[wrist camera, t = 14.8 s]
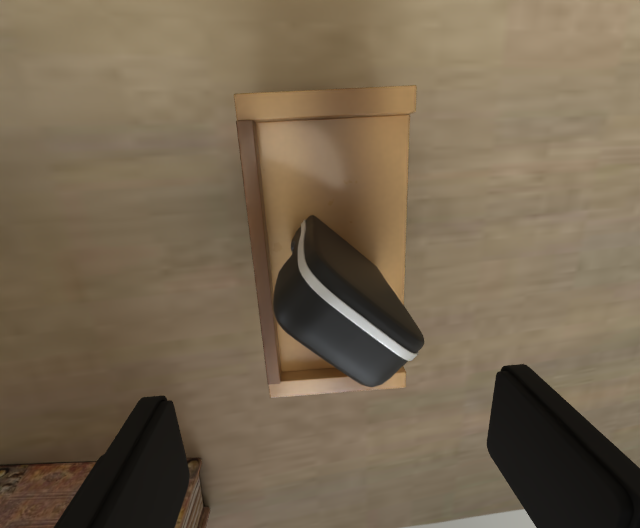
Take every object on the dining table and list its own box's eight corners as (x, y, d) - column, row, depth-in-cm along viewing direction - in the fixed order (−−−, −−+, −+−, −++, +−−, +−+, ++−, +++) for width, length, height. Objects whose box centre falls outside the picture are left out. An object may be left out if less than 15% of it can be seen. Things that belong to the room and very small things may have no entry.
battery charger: (275, 250, 24) (252, 329, 13) (308, 209, 23) (314, 258, 12) (347, 305, 26) (380, 416, 15) (381, 269, 25) (442, 357, 14)
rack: (279, 328, 37) (269, 400, 26) (258, 115, 30) (232, 92, 19) (376, 321, 37) (406, 390, 26) (377, 109, 30) (418, 83, 20)
